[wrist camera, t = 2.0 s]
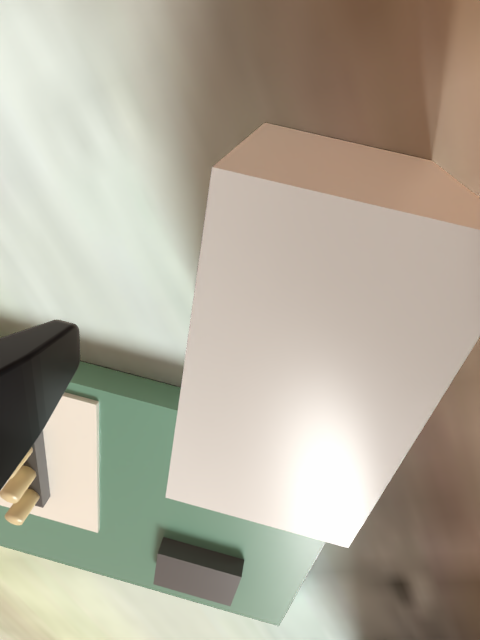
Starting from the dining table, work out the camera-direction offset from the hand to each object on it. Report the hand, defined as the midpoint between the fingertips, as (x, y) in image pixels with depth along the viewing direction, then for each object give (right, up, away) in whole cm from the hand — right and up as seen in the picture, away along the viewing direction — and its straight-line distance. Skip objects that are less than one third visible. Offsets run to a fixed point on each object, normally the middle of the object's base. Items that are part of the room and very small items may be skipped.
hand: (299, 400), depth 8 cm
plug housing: (+1, +3, +5) cm, 6 cm away
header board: (-7, -6, +12) cm, 15 cm away
